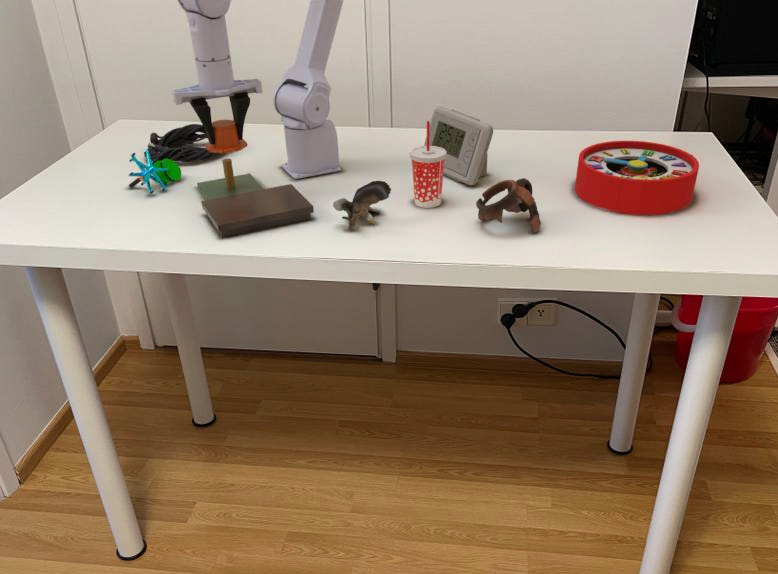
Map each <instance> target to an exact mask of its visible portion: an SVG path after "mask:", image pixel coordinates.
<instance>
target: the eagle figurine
mask: <svg viewBox="0 0 778 574" xmlns="http://www.w3.org/2000/svg"><path fill="white" fill-rule="evenodd" d="M391 191H392V188H391V187H390V185H389V184H388V182H386V181H383V180H372V181H370V182H369V183H367V184H364V185H363V186H361V187H359V188H357V189H356V191H355V192H354V193H355V194H354V195H353V197H352V201H349V200H348V199H347V198H345V197H342V198H339V199H337V200H334V202H333V204H332V206H333V208H334V209H335V210H336V211H338V212H342V211H343V212H346V214H347V216H341V219H343V220H347V221H348V231H351V230H352V229H353V227H355V226H356V224H357V223H356V222H357V219H359V218H361V219H363V220H367V221H368V222H370V223H372V225H374V226H375V225H376V222H375V218H374V217H373V216H372V214H371V213H370V212H375V213H381V211H380V210H378V209H374V208H372V207H371V206H372V205H375V204H378V203H379V202H383V201H385V200H387V199H388V198H390V194H392V193H391Z"/></svg>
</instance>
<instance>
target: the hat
mask: <svg viewBox="0 0 778 574" xmlns="http://www.w3.org/2000/svg"><path fill="white" fill-rule="evenodd" d="M212 128H213V132H214V137H215V144H213V145H211V144H210V142H209V141H208V143H206V144H205V145H204V146H205V147H204V148H206V149H207V150H208V151H209V152H214V153H223V154H230V153H235V152H236V153H237V152H240V151H242V150H244V149H245V148H247V147H248V145H249V144H248V142H247V141H246V140H245V139H244V138H243V140H239V139H238V130H237V125H236V122H235V121H234V120H232V119H218V120H214V121H212Z"/></svg>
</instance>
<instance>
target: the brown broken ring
mask: <svg viewBox="0 0 778 574" xmlns="http://www.w3.org/2000/svg"><path fill="white" fill-rule="evenodd" d="M506 190H507V194H506V195H505V196H503V197H502V198H500V199H499V200H498V201H496V202H493V203H491V204H487V203H488V202H489V201H490V200H491V199H492V198H493V197H495V196H497V195H498V194H500V193H502V192H505V191H506ZM481 196H482V198H483V199H482V198H481V197H479V198H478V200H477V201H476V202H475V205H476V208H477V209H478V212H477V218H478V220H479V221H481V222H491V221H497V222H499V223H503V214H504V210H505V211H506V212H508V213H515V214H519V213H526V212H527V211H528V213H529V220H530V222H529V224H530V226H531V227H532V233H533V234H536V233H537V232H538V231H539V229H540V228H541V219H540V213H539V211H538V205H537V202H536V200H535V197H534V196H533V185H532V183H531V182H530V180H529V179H527V178H524V177H523V178H519V179H517V180H514V179H505V180H502V181H499V182H497V183H495V184H493V185H491V186H490V187H488V188H487V189H486V190H485V191H484V192H482V194H481ZM486 204H487V205H486Z"/></svg>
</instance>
